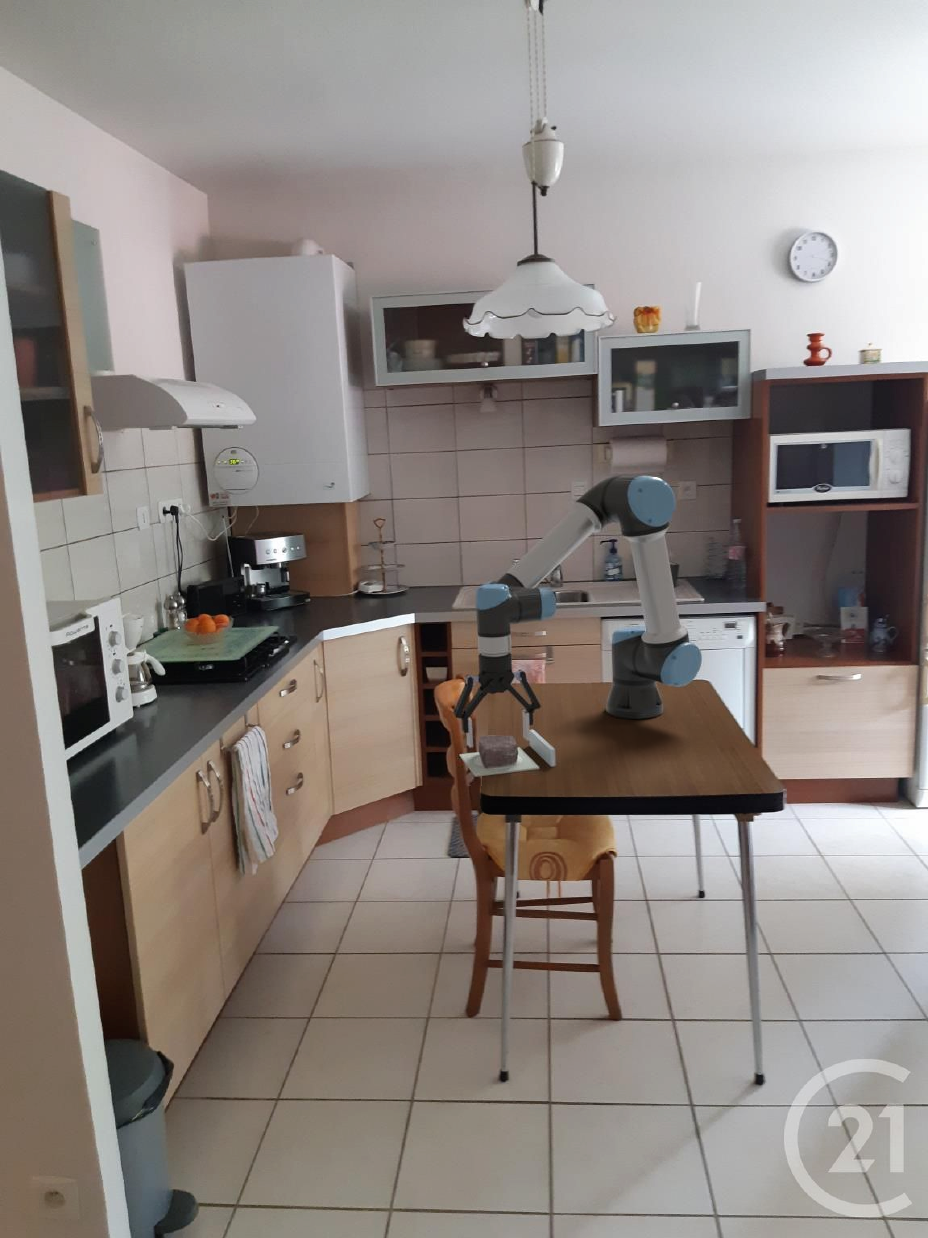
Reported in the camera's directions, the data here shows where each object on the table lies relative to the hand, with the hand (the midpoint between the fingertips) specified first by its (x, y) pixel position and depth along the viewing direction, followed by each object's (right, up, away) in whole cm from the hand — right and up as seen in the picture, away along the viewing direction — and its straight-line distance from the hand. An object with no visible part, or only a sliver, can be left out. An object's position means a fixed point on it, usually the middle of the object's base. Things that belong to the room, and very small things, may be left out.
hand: (498, 742), depth 214 cm
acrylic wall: (+10, -4, +4) cm, 12 cm away
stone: (0, -4, +1) cm, 5 cm away
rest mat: (0, -5, +1) cm, 5 cm away
